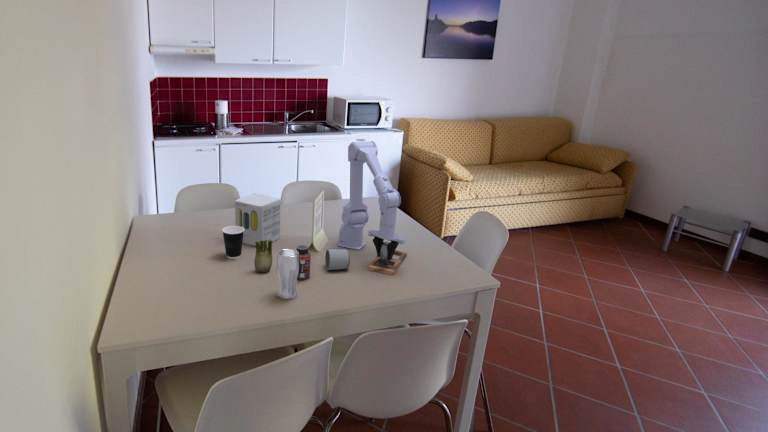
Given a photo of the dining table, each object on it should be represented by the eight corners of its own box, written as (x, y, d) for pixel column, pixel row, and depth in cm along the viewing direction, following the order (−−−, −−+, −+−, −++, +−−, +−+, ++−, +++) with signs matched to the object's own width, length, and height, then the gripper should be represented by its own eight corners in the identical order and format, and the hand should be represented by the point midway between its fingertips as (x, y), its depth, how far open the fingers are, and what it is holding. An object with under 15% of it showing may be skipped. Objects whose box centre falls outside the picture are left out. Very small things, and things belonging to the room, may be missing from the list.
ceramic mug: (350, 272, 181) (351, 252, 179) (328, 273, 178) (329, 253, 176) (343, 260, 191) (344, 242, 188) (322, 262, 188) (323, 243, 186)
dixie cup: (243, 251, 190) (243, 225, 187) (245, 260, 183) (245, 232, 180) (222, 253, 188) (221, 226, 184) (223, 261, 181) (222, 233, 177)
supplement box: (234, 241, 200) (233, 200, 194) (254, 231, 211) (254, 192, 206) (262, 248, 195) (262, 206, 190) (280, 238, 207) (281, 198, 201)
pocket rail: (367, 269, 184) (367, 266, 183) (383, 251, 202) (383, 247, 202) (392, 275, 181) (393, 271, 181) (406, 255, 199) (407, 252, 199)
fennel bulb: (272, 268, 178) (272, 238, 175) (270, 274, 174) (270, 243, 170) (256, 267, 178) (256, 236, 174) (253, 273, 173) (253, 242, 170)
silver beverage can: (278, 289, 164) (278, 247, 159) (299, 290, 165) (300, 248, 160) (275, 299, 157) (275, 256, 152) (297, 300, 158) (298, 257, 153)
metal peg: (377, 263, 186) (378, 244, 183) (382, 260, 189) (383, 241, 187) (386, 266, 184) (388, 246, 181) (391, 263, 187) (393, 243, 185)
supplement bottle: (306, 281, 171) (307, 251, 167) (290, 279, 172) (290, 249, 168) (312, 274, 176) (313, 245, 173) (296, 272, 177) (297, 242, 174)
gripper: (410, 225, 182) (406, 258, 186) (375, 216, 188) (372, 249, 192) (401, 230, 176) (398, 265, 180) (366, 221, 182) (364, 255, 186)
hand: (384, 257), depth 186 cm, fingers closed on metal peg, 4 cm apart
